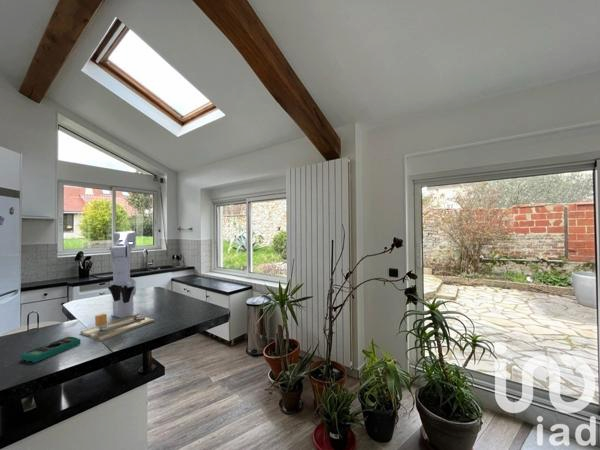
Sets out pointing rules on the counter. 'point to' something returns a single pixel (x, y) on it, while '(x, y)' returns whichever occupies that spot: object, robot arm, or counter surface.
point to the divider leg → (101, 322)
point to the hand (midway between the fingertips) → (121, 301)
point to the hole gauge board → (118, 327)
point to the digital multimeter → (50, 349)
